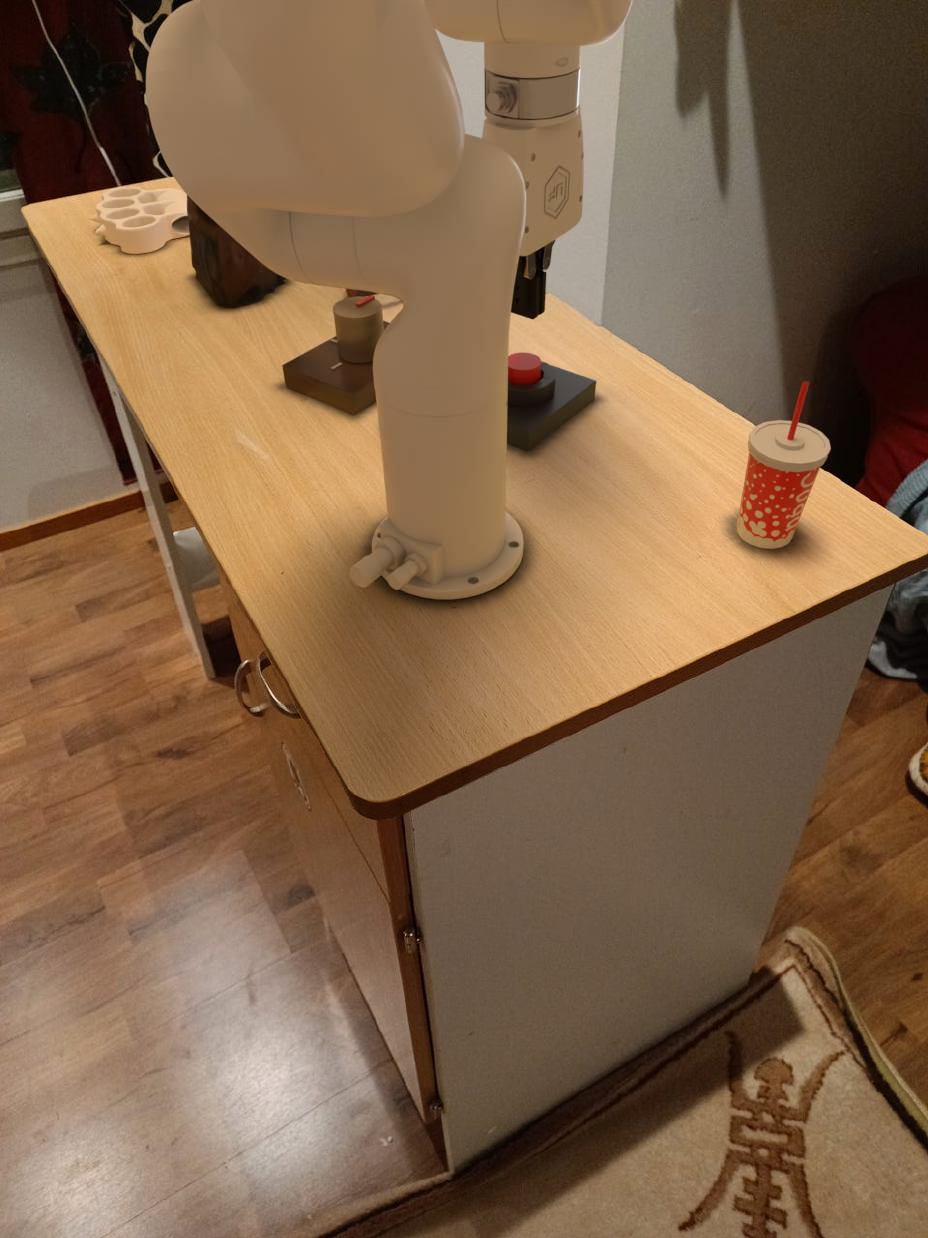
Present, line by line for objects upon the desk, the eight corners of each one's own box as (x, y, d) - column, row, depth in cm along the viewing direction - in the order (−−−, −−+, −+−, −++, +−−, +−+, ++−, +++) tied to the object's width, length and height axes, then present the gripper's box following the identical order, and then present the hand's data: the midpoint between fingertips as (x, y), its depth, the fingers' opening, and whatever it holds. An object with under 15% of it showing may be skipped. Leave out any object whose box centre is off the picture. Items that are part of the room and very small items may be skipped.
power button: (527, 390, 85) (527, 373, 84) (497, 379, 86) (497, 362, 85) (547, 375, 87) (548, 358, 86) (518, 364, 88) (518, 348, 87)
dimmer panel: (354, 415, 89) (351, 392, 87) (285, 386, 93) (281, 363, 91) (440, 361, 97) (439, 338, 95) (373, 336, 101) (371, 314, 99)
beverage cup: (756, 562, 71) (799, 411, 62) (712, 520, 75) (746, 372, 66) (817, 542, 73) (868, 392, 63) (771, 502, 77) (812, 355, 67)
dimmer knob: (363, 368, 91) (358, 319, 87) (328, 354, 93) (322, 306, 89) (395, 349, 93) (391, 301, 90) (360, 336, 96) (355, 289, 92)
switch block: (528, 452, 84) (529, 415, 81) (446, 419, 88) (445, 383, 85) (594, 399, 90) (598, 364, 87) (515, 371, 95) (516, 336, 92)
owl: (291, 262, 117) (264, 92, 103) (303, 302, 108) (276, 122, 94) (194, 274, 115) (154, 102, 101) (199, 315, 106) (155, 133, 92)
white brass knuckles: (210, 241, 123) (103, 260, 118) (185, 200, 134) (86, 217, 130) (205, 216, 120) (95, 235, 116) (179, 177, 132) (79, 193, 128)
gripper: (515, 125, 64) (512, 356, 77) (621, 77, 72) (602, 293, 85) (435, 108, 67) (445, 332, 80) (545, 64, 75) (538, 274, 88)
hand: (525, 311), depth 82 cm, fingers closed
